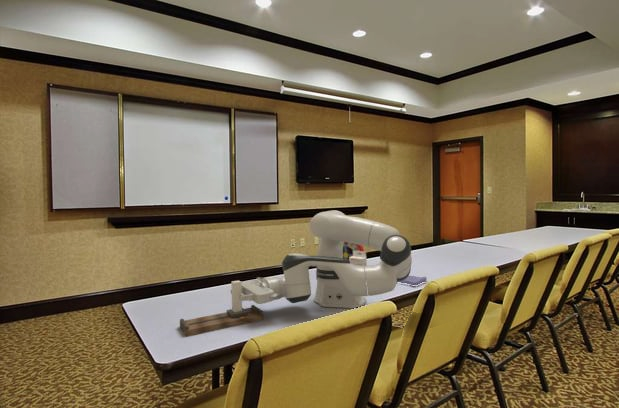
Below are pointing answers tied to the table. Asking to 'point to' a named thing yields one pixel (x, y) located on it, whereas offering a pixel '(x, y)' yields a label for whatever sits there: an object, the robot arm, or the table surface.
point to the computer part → (414, 280)
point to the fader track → (219, 321)
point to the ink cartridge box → (359, 259)
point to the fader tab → (236, 301)
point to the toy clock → (351, 249)
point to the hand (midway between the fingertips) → (235, 295)
